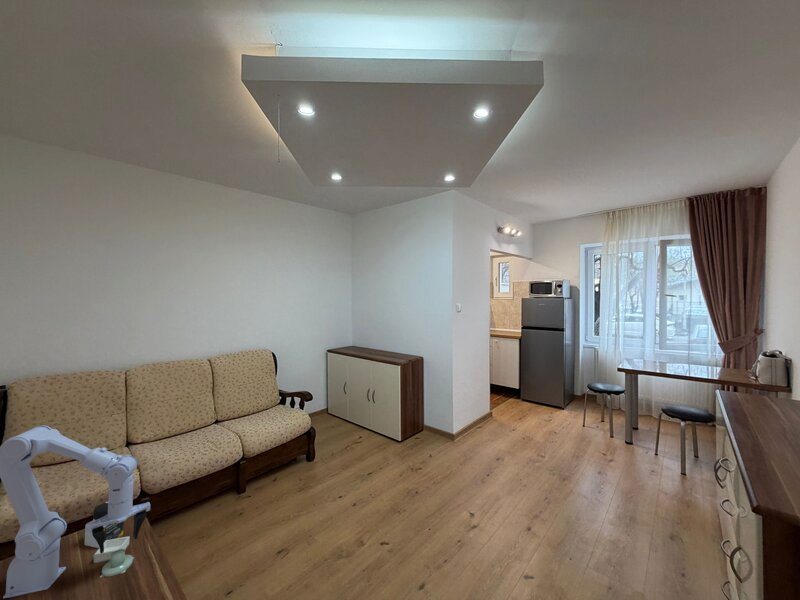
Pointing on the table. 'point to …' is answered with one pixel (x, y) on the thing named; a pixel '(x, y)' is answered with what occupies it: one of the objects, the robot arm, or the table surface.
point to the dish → (111, 549)
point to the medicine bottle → (109, 530)
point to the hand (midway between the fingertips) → (118, 544)
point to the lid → (117, 563)
